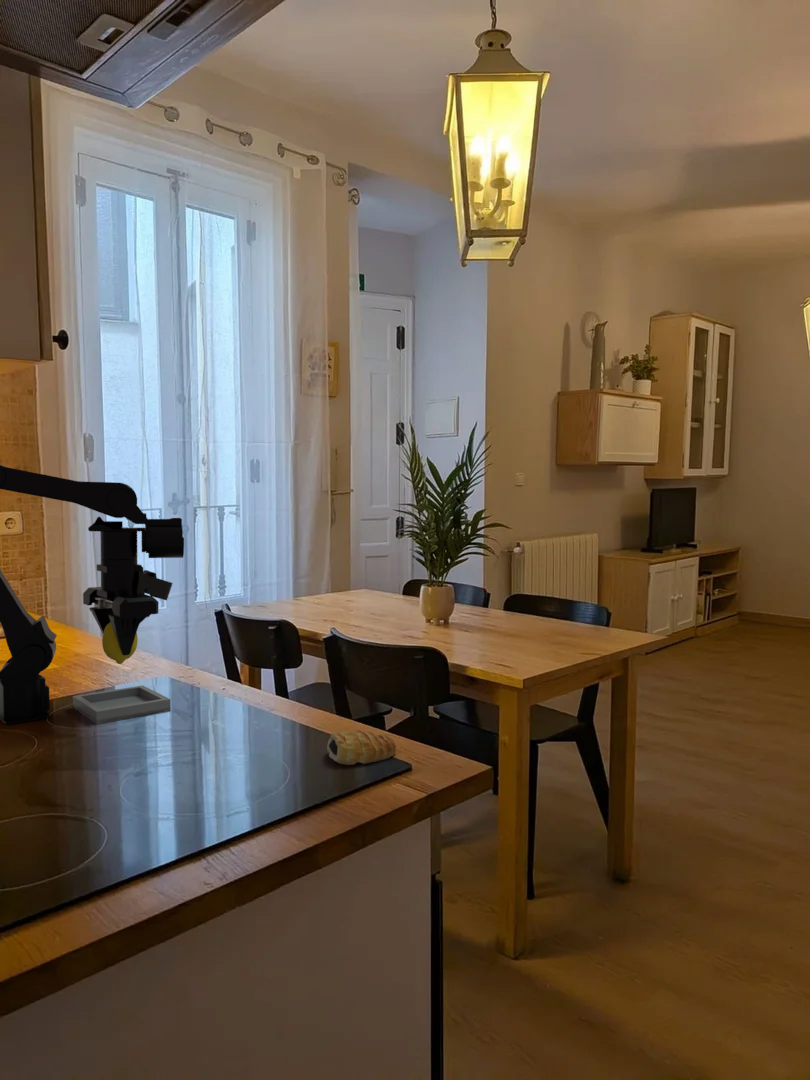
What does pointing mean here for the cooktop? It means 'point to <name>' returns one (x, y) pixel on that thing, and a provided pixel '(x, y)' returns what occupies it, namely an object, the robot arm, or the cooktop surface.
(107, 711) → the dish
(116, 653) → the lemon
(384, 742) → the pastry
